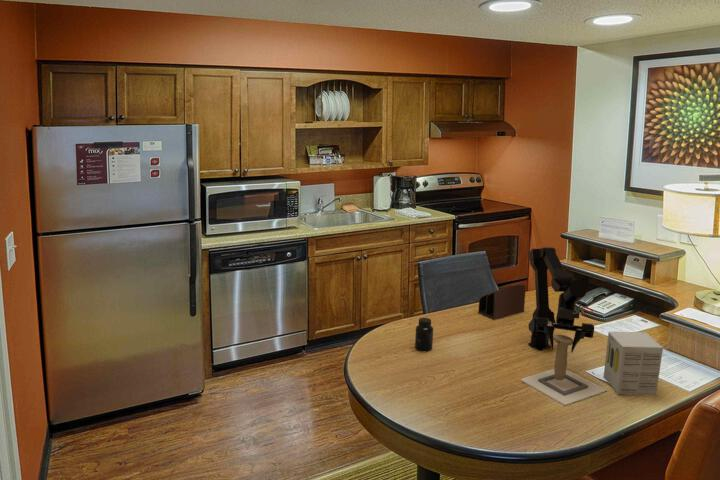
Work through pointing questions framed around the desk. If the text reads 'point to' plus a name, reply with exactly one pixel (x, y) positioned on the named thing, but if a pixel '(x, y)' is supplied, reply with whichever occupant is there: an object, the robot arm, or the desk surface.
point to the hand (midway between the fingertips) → (562, 350)
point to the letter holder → (503, 302)
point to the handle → (561, 355)
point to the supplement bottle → (424, 335)
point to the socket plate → (563, 386)
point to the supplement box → (633, 363)
